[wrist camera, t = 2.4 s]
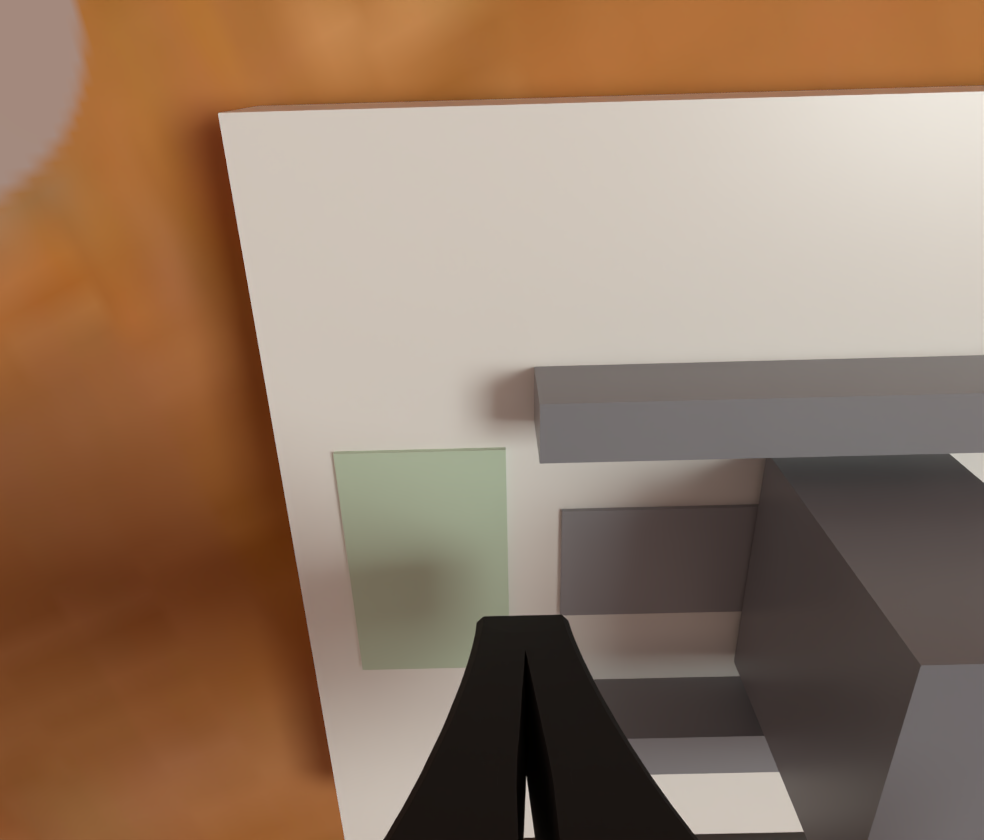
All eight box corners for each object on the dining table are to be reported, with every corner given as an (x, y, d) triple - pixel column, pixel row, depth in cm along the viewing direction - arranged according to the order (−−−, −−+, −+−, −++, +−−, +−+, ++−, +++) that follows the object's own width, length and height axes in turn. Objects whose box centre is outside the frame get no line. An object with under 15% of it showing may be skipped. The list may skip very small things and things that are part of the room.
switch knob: (941, 446, 13) (1193, 659, 8) (883, 658, 15) (1057, 920, 10) (766, 451, 13) (920, 666, 8) (733, 661, 15) (841, 924, 10)
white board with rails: (1467, 72, 12) (1814, 74, 9) (1061, 879, 21) (1160, 1020, 18) (257, 105, 12) (177, 119, 9) (377, 893, 22) (358, 1035, 18)
